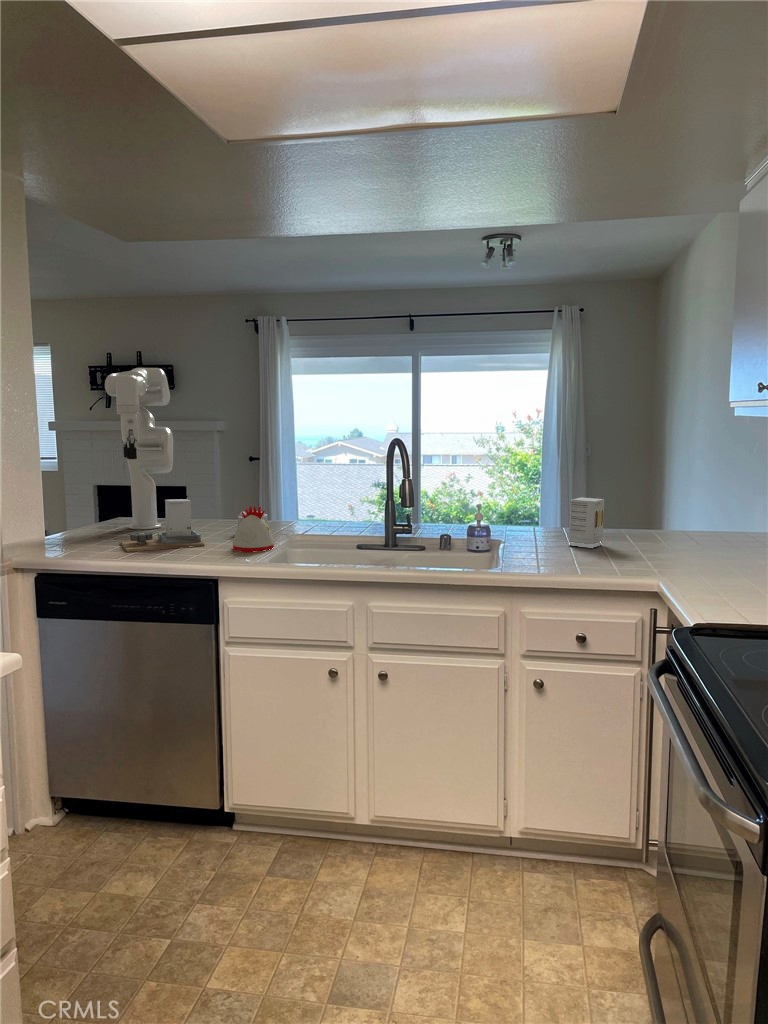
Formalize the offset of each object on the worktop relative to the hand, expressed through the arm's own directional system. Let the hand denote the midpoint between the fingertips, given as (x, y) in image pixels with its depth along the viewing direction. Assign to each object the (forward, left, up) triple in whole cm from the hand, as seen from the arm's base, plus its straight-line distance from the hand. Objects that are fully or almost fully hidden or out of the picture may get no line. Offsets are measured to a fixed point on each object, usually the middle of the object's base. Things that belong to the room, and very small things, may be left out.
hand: (130, 458), depth 258 cm
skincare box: (+12, +14, -30) cm, 35 cm away
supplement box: (+79, +143, -31) cm, 166 cm away
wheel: (+12, +1, -28) cm, 30 cm away
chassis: (+12, +8, -30) cm, 34 cm away
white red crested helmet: (+33, +36, -31) cm, 57 cm away
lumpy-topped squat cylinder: (+4, +43, -31) cm, 53 cm away
